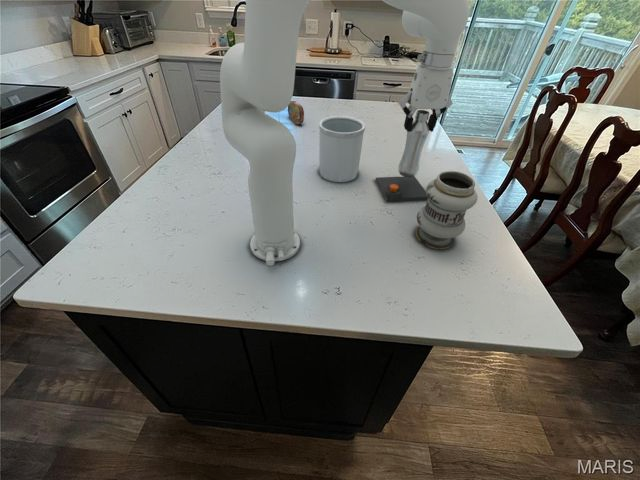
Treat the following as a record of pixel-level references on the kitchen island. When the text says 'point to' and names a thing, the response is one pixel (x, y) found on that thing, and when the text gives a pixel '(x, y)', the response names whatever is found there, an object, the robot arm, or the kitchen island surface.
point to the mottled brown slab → (296, 112)
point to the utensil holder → (340, 147)
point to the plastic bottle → (414, 145)
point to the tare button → (393, 188)
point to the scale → (401, 189)
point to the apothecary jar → (445, 209)
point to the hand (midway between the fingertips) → (418, 129)
